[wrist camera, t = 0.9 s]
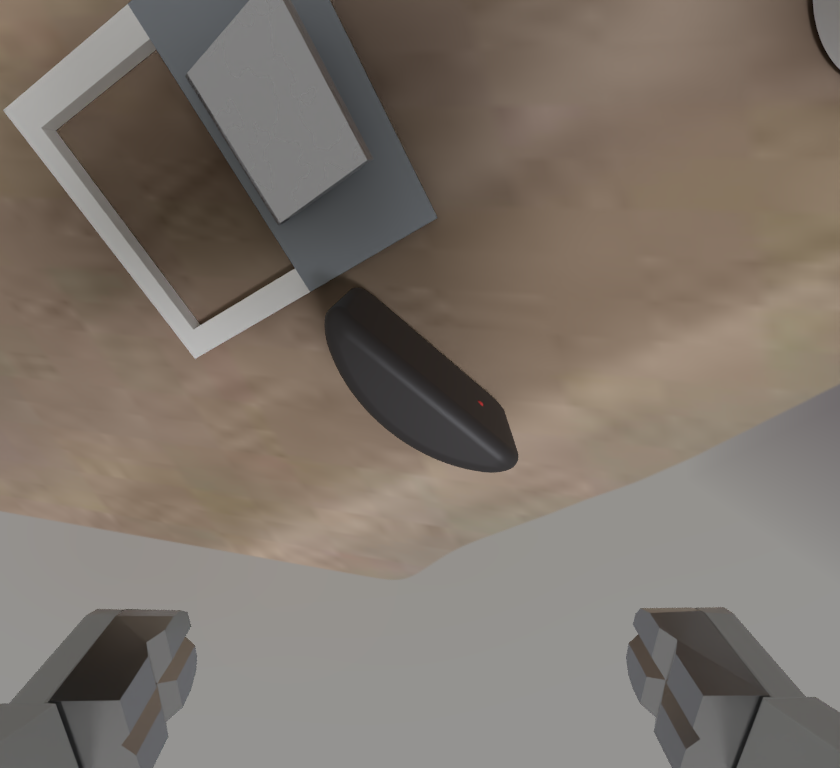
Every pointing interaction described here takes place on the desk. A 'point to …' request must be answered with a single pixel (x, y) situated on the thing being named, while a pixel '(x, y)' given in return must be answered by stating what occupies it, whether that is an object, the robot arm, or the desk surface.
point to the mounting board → (230, 157)
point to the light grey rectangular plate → (278, 108)
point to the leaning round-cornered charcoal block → (416, 387)
